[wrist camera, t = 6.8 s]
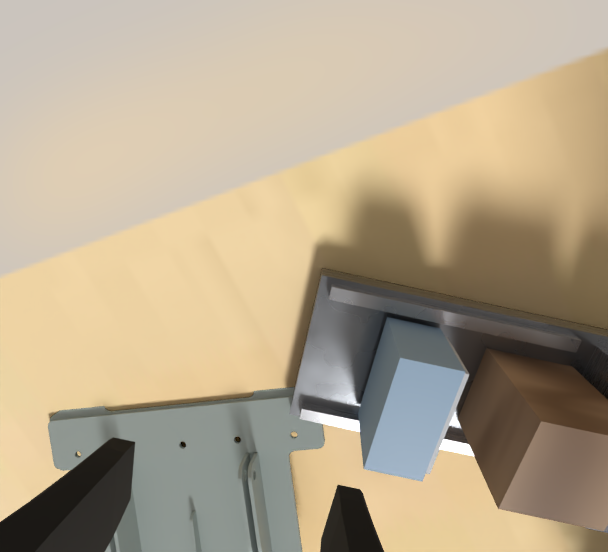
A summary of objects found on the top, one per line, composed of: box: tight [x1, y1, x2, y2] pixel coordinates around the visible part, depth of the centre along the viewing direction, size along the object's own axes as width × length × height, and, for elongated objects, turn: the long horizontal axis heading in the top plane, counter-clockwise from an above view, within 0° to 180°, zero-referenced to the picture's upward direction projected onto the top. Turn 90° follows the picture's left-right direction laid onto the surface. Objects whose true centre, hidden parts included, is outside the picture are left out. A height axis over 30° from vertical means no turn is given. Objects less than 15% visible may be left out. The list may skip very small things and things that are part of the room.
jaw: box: [358, 317, 469, 481], centre depth 17 cm, size 3×5×4 cm, turn 168°
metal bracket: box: [48, 387, 325, 552], centre depth 23 cm, size 14×6×15 cm
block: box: [458, 348, 608, 531], centre depth 17 cm, size 4×4×5 cm
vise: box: [289, 268, 608, 533], centre depth 18 cm, size 15×8×5 cm, turn 78°
